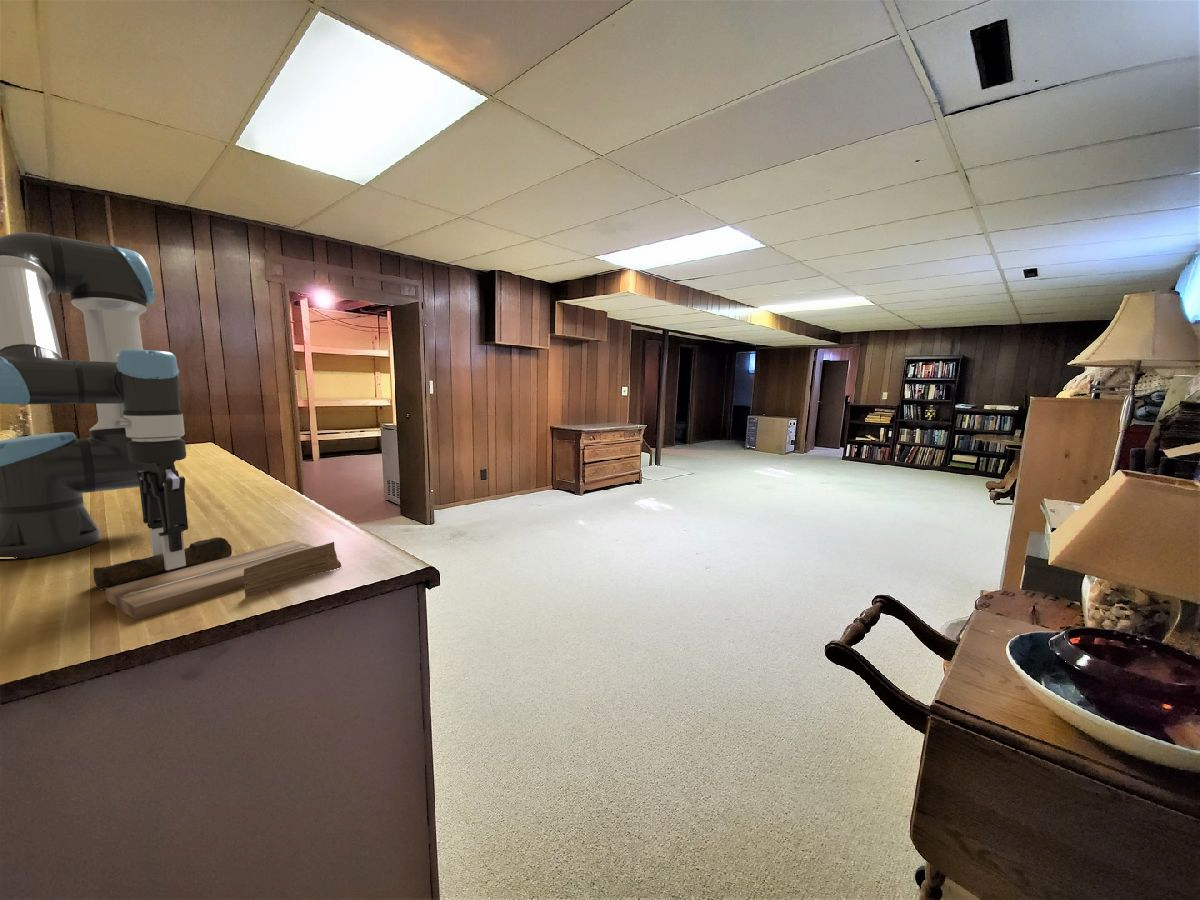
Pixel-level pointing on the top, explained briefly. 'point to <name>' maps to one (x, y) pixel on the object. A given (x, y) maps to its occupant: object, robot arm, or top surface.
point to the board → (192, 582)
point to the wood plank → (290, 568)
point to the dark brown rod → (161, 563)
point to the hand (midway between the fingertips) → (169, 564)
